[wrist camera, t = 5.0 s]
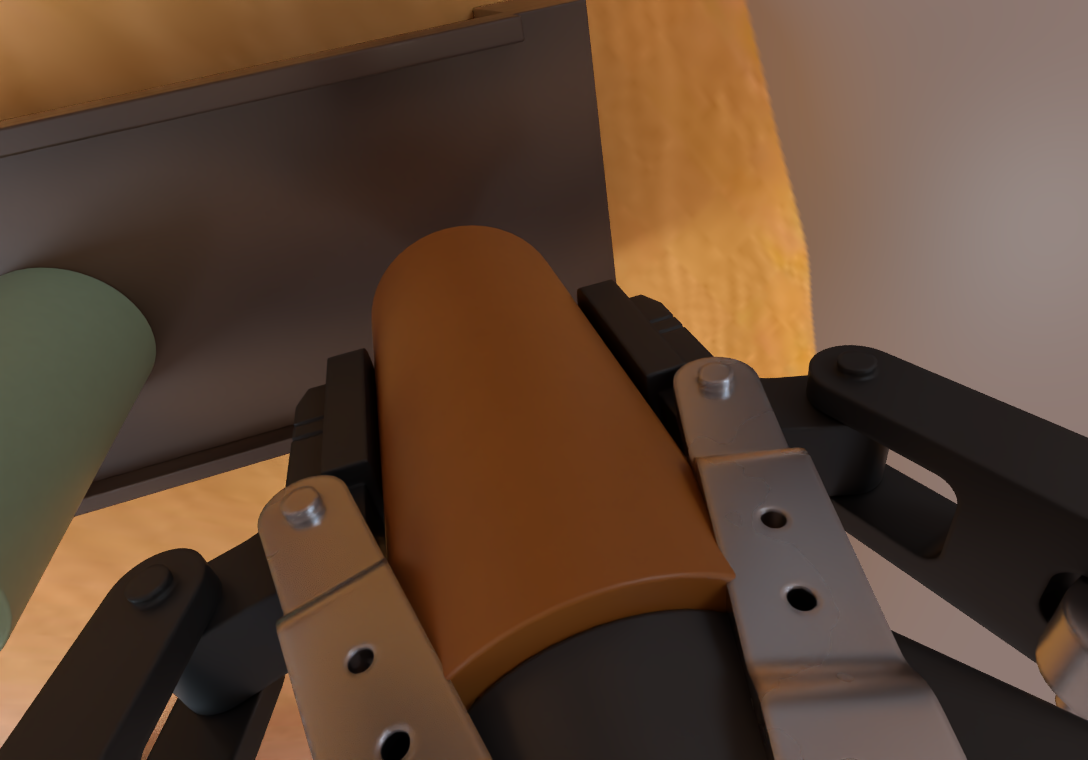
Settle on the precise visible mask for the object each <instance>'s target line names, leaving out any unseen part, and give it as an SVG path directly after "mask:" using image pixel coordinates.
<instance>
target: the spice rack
mask: <svg viewBox="0 0 1088 760" xmlns="http://www.w3.org/2000/svg"><path fill="white" fill-rule="evenodd" d="M473 13H474V18H475V19H470V20H466V21H461V22H456V23H452V24H447V25H443V26H438V27H433V28H429V29H424V30H419V31H415V32H410V33H405V34H401V35H396V36H392V37H387V38H382V39H378V40H373V41H368V42H364V43H359V44H355V45H350V46H345V47H341V48H336V49H331V50H327V51H322V52H317V53H313V54H308V55H304V56H299V57H294V58H290V59H285V60H280V61H276V62H271V63H267V64H262V65H257V66H253V67H248V68H243V69H239V70H234V71H229V72H225V73H220V74H216V75H211V76H206V77H202V78H197V79H192V80H188V81H183V82H179V83H174V84H169V85H165V86H160V87H155V88H151V89H146V90H142V91H137V92H132V93H128V94H123V95H118V96H114V97H109V98H104V99H100V100H95V101H91V102H86V103H81V104H77V105H72V106H67V107H63V108H58V109H54V110H49V111H44V112H40V113H35V114H30V115H26V116H21V117H16V118H12V119H7V120H3V121H0V276H2V275H4V274H6V273H10V272H13V271H16V270H22V269H27V268H57V269H64V270H69V271H73V272H78V273H81V274H84V275H87V276H90V277H93V278H95V279H97V280H99V281H102V282H104V283H106V284H107V285H109V286H111V287H113V288H114V289H116V290H117V291H119V292H120V293H122V294H123V295H124V296H125V297H127V298H128V299H129V300H130V301H131V302H132V303H133V304H134V305H135V306H136V307H137V308H138V309H139V310H140V311H141V313H142V314H143V316H144V317H145V318H146V320H147V322H148V324H149V325H150V327H151V330H152V332H153V335H154V339H155V344H156V358H155V363H154V366H153V369H152V371H151V373H150V375H149V376H148V378H147V380H146V382H145V384H144V386H143V388H142V390H141V391H140V393H139V395H138V397H137V399H136V401H135V403H134V405H133V406H132V408H131V410H130V412H129V414H128V416H127V418H126V420H125V421H124V423H123V425H122V427H121V429H120V431H119V433H118V435H117V436H116V438H115V440H114V442H113V444H112V446H111V448H110V450H109V451H108V453H107V455H106V457H105V459H104V461H103V463H102V465H101V466H100V468H99V470H98V472H97V474H96V476H95V478H94V480H93V481H92V483H91V485H90V487H89V489H88V491H87V493H86V495H85V496H84V498H83V500H82V502H81V504H80V506H79V508H78V509H77V511H76V513H75V515H74V517H75V516H78V515H82V514H85V513H88V512H92V511H95V510H99V509H102V508H105V507H109V506H112V505H116V504H119V503H122V502H126V501H129V500H133V499H136V498H139V497H143V496H146V495H150V494H153V493H156V492H160V491H163V490H166V489H170V488H173V487H177V486H180V485H183V484H187V483H190V482H194V481H197V480H200V479H204V478H207V477H211V476H214V475H217V474H221V473H224V472H228V471H231V470H234V469H238V468H241V467H245V466H248V465H251V464H255V463H258V462H261V461H265V460H268V459H272V458H275V457H278V456H282V455H285V454H289V453H290V449H291V442H293V440H292V433H293V428H294V417H295V410H296V406H297V405H298V403H299V402H300V400H301V399H302V397H303V396H304V395H305V393H306V392H307V390H308V389H310V388H313V387H317V386H321V385H324V384H326V372H327V359H328V358H330V357H333V356H337V355H340V354H344V353H347V352H351V351H355V350H358V349H362V348H365V349H366V350H367V352H368V354H369V356H370V358H371V361H372V363H373V366H374V352H373V337H372V305H373V299H374V295H375V292H376V289H377V286H378V284H379V282H380V280H381V278H382V276H383V274H384V273H385V271H386V270H387V268H388V267H389V265H390V264H391V263H392V262H393V261H394V260H395V258H396V257H397V256H398V255H399V254H400V253H402V252H403V251H404V250H405V249H406V248H407V247H409V246H410V245H412V244H413V243H415V242H416V241H418V240H419V239H421V238H423V237H425V236H427V235H429V234H431V233H434V232H437V231H440V230H443V229H447V228H452V227H457V226H470V225H475V226H487V227H492V228H497V229H500V230H503V231H506V232H509V233H512V234H514V235H515V236H517V237H519V238H521V239H523V240H524V241H526V242H527V243H529V244H530V245H532V246H533V247H534V248H535V249H536V250H537V251H538V252H539V253H540V254H541V255H542V256H543V258H544V259H545V260H546V261H547V263H548V264H549V266H550V267H551V268H552V270H553V271H554V273H555V274H556V275H557V277H558V278H559V280H560V281H561V282H562V284H563V285H564V287H565V288H566V289H567V291H568V292H569V294H570V295H571V296H572V298H573V299H574V301H575V302H576V303H577V289H578V288H581V287H585V286H588V285H592V284H596V283H599V282H603V281H606V280H610V279H612V280H613V281H614V282H615V283H616V276H615V267H614V258H613V248H612V239H611V230H610V220H609V211H608V202H607V193H606V183H605V174H604V165H603V156H602V146H601V137H600V128H599V118H598V109H597V100H596V91H595V81H594V72H593V63H592V54H591V44H590V35H589V26H588V16H587V7H586V0H508V1H504V2H499V3H494V4H490V5H485V6H480V7H476V8H473ZM577 305H578V303H577Z"/></svg>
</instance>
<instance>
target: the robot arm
mask: <svg viewBox="0 0 1088 760" xmlns="http://www.w3.org/2000/svg"><path fill="white" fill-rule="evenodd" d="M577 303H578V306H579V308H580V309H581V310H582V312H583V313H584V315H585V316H586V317H587V319H588V320H589V322H590V323H591V325H592V326H593V327H594V329H595V330H596V332H597V333H598V334H599V336H600V337H601V339H602V340H603V341H604V343H605V344H606V346H607V347H608V348H609V350H610V351H611V353H612V354H613V355H614V357H615V358H616V360H617V361H618V362H619V364H620V365H621V367H622V368H623V369H624V371H625V372H626V374H627V375H628V376H629V378H630V379H631V381H632V382H633V383H634V385H635V386H636V388H637V389H638V390H639V392H640V393H641V395H642V396H643V398H644V399H645V400H646V402H647V403H648V405H649V406H650V407H651V409H652V410H653V412H654V413H655V414H656V416H657V417H658V419H659V420H660V421H661V423H662V424H663V426H664V427H665V428H666V430H667V431H668V433H669V434H670V435H671V437H672V438H673V440H674V441H675V442H676V444H677V445H678V447H679V448H680V449H681V451H682V452H683V454H684V455H685V456H686V458H687V460H688V462H689V464H690V465H691V468H692V470H693V473H694V475H695V478H696V481H697V483H698V486H699V489H700V492H701V495H702V498H703V501H704V504H705V507H706V510H707V513H708V516H709V519H710V523H711V526H712V529H713V533H714V536H715V539H716V542H717V546H718V548H719V549H720V551H721V553H722V554H723V556H724V557H725V559H726V560H727V562H728V563H729V565H730V566H731V568H732V569H733V571H734V572H735V574H736V576H735V579H733V580H732V581H730V582H727V584H726V614H727V615H728V618H729V622H730V625H731V629H732V633H733V636H734V640H735V643H736V647H737V650H738V654H739V657H740V661H741V665H742V668H743V672H744V676H745V680H746V683H747V687H748V691H749V694H750V698H751V702H752V706H753V709H754V713H755V717H756V720H757V724H758V728H759V731H760V735H761V739H762V743H763V747H764V751H765V754H766V758H767V760H1088V438H1087V437H1085V436H1082V435H1080V434H1078V433H1075V432H1073V431H1070V430H1068V429H1066V428H1064V427H1061V426H1059V425H1056V424H1054V423H1052V422H1049V421H1047V420H1045V419H1042V418H1040V417H1037V416H1035V415H1033V414H1030V413H1028V412H1025V411H1023V410H1021V409H1018V408H1016V407H1014V406H1011V405H1009V404H1007V403H1004V402H1001V401H999V400H997V399H995V398H992V397H990V396H987V395H985V394H983V393H980V392H978V391H976V390H973V389H971V388H969V387H966V386H964V385H961V384H959V383H957V382H954V381H952V380H949V379H947V378H944V377H942V376H940V375H938V374H935V373H932V372H930V371H928V370H926V369H923V368H921V367H919V366H916V365H914V364H911V363H909V362H907V361H904V360H902V359H900V358H897V357H895V356H892V355H890V354H888V353H885V352H883V351H880V350H877V349H874V348H870V347H865V346H856V345H844V346H836V347H831V348H828V349H825V350H823V351H821V352H819V353H817V354H816V355H814V357H813V358H812V359H811V361H810V363H809V371H808V375H807V376H794V377H782V378H759V377H758V375H757V373H756V372H755V371H754V369H753V368H751V367H750V366H749V365H747V364H745V363H743V362H741V361H738V360H735V359H731V358H725V357H713V356H712V354H711V353H710V352H709V351H708V350H707V349H706V348H705V347H704V346H703V345H702V344H701V343H700V342H699V341H698V340H697V339H696V338H695V337H694V336H693V335H692V334H691V333H690V332H689V331H688V330H687V329H686V328H685V327H683V326H682V324H681V323H680V322H679V321H678V320H677V319H676V318H675V317H673V315H672V314H671V312H670V311H669V310H668V309H667V308H666V307H665V306H664V305H663V304H662V303H661V302H658V301H656V300H653V299H651V298H648V297H646V296H643V295H638V296H635V297H631V298H629V297H628V296H627V295H626V294H625V293H624V292H623V291H622V290H621V288H620V287H619V286H618V285H617V284H616V283H615V282H614V281H613V280H612V279H610V280H606V281H603V282H599V283H596V284H592V285H588V286H585V287H581V288H578V289H577ZM292 440H293V442H291V449H290V457H289V464H288V472H287V480H286V487H285V488H284V489H282V490H281V491H280V492H278V493H277V494H276V495H275V496H274V497H273V498H272V499H271V500H270V501H269V502H268V503H267V504H266V506H265V507H264V508H263V510H262V512H261V514H260V516H259V519H258V533H257V534H255V535H254V536H253V537H251V538H250V539H248V540H247V541H245V542H243V543H242V544H240V545H238V546H236V547H234V548H233V549H231V550H229V551H227V552H225V553H224V554H222V555H220V556H218V557H216V558H215V559H213V560H211V561H209V562H206V561H205V559H204V558H203V557H202V556H201V554H199V553H198V552H197V551H195V550H192V549H187V548H178V549H172V550H168V551H165V552H162V553H159V554H157V555H154V556H152V557H150V558H148V559H146V560H145V561H143V562H141V563H140V564H138V565H137V566H135V567H134V568H133V569H131V570H130V571H129V572H127V573H126V574H125V575H124V576H123V577H122V578H121V579H120V580H119V581H118V582H117V583H116V584H115V585H114V586H113V587H112V589H111V590H110V591H109V593H108V594H107V595H106V597H105V598H104V600H103V601H102V603H101V604H100V606H99V607H98V608H97V610H96V611H95V613H94V614H93V616H92V617H91V619H90V620H89V621H88V623H87V624H86V626H85V627H84V629H83V630H82V632H81V633H80V634H79V636H78V637H77V639H76V640H75V642H74V643H73V645H72V646H71V648H70V649H69V650H68V652H67V653H66V655H65V656H64V658H63V659H62V661H61V662H60V663H59V665H58V666H57V668H56V669H55V671H54V672H53V674H52V675H51V676H50V678H49V679H48V681H47V682H46V684H45V685H44V687H43V688H42V689H41V691H40V692H39V694H38V695H37V697H36V698H35V700H34V701H33V702H32V704H31V705H30V707H29V708H28V710H27V711H26V713H25V714H24V715H23V717H22V718H21V720H20V721H19V723H18V724H17V726H16V727H15V728H14V730H13V731H12V733H11V734H10V736H9V737H8V739H7V740H6V741H5V743H4V744H3V746H2V747H1V749H0V760H141V756H142V753H143V750H144V748H145V746H146V744H147V742H148V740H149V738H150V736H151V734H152V732H153V730H154V728H155V726H156V724H157V722H158V720H159V719H160V717H161V715H162V713H163V711H164V709H165V707H166V705H167V703H168V701H169V699H170V697H171V695H172V693H174V694H175V695H176V696H177V697H178V698H177V700H176V702H175V704H174V706H173V708H172V710H171V712H170V714H169V716H168V718H167V720H166V722H165V724H164V726H163V728H162V730H161V732H160V734H159V736H158V738H157V740H156V742H155V744H154V746H153V748H152V750H151V752H150V754H149V756H148V758H147V760H255V758H256V756H257V753H258V750H259V748H260V745H261V742H262V740H263V737H264V734H265V731H266V729H267V726H268V723H269V721H270V718H271V715H272V713H273V710H274V707H275V705H276V702H277V699H278V696H279V694H280V691H281V688H282V686H283V682H284V678H285V674H287V673H288V674H289V677H290V681H291V684H292V688H293V691H294V695H295V698H296V702H297V705H298V709H299V712H300V716H301V719H302V723H303V726H304V730H305V734H306V737H307V741H308V744H309V748H310V751H311V755H312V758H313V760H493V759H492V757H491V755H490V753H489V752H488V750H487V748H486V746H485V744H484V742H483V740H482V738H481V736H480V735H479V733H478V731H477V729H476V727H475V725H474V723H473V721H472V720H471V718H470V716H469V714H468V712H467V710H466V708H465V706H464V704H463V703H462V701H461V699H460V697H459V695H458V693H457V691H456V689H455V688H454V686H453V684H452V682H451V680H447V679H446V678H445V677H444V673H443V666H442V663H441V661H440V659H439V657H438V656H437V654H436V652H435V650H434V648H433V646H432V644H431V642H430V641H429V639H428V637H427V635H426V633H425V631H424V629H423V627H422V625H421V624H420V622H419V620H418V618H417V616H416V614H415V612H414V610H413V609H412V607H411V605H410V603H409V601H408V599H407V597H406V595H405V594H404V592H403V590H402V588H401V586H400V584H399V582H398V580H397V578H396V577H395V575H394V573H393V571H392V569H391V567H390V565H389V563H388V562H387V552H386V537H385V521H384V506H383V491H382V475H381V460H380V444H379V429H378V414H377V398H376V383H375V368H374V366H373V363H372V361H371V358H370V356H369V354H368V352H367V350H366V349H365V348H362V349H358V350H355V351H351V352H347V353H344V354H340V355H337V356H333V357H330V358H328V359H327V372H326V384H324V385H321V386H317V387H313V388H310V389H308V390H307V392H306V393H305V395H304V396H303V397H302V399H301V400H300V402H299V403H298V405H297V406H296V410H295V417H294V428H293V433H292ZM889 449H891V450H892V451H894V452H896V453H898V454H900V455H902V456H903V457H905V458H907V459H909V460H911V461H913V462H915V463H916V464H918V465H920V466H922V467H924V468H925V469H927V470H929V471H931V472H933V473H935V474H936V475H938V476H940V477H941V478H942V479H944V480H945V481H946V482H947V483H948V484H949V485H950V486H951V488H952V489H953V491H954V492H955V494H956V497H957V504H956V503H954V502H952V501H951V500H949V499H947V498H945V497H943V496H942V495H940V494H938V493H936V492H935V491H933V490H931V489H929V488H928V487H926V486H924V485H922V484H920V483H918V482H917V481H915V480H913V479H911V478H910V477H908V476H906V475H905V474H903V473H901V472H899V471H898V470H896V469H894V468H892V467H890V466H889V465H887V464H886V460H887V455H888V451H889ZM845 531H846V532H847V533H849V534H850V535H852V536H853V537H855V538H856V539H858V540H859V541H860V542H862V543H863V544H865V545H866V546H868V547H869V548H871V549H872V550H873V551H875V552H876V553H878V554H879V555H881V556H882V557H884V558H885V559H886V560H888V561H889V562H891V563H892V564H894V565H895V566H897V567H898V568H899V569H901V570H902V571H904V572H905V573H907V574H908V575H910V576H911V577H912V578H914V579H915V580H917V581H918V582H920V583H921V584H923V585H924V586H926V587H927V588H928V589H930V590H931V591H933V592H934V593H936V594H937V595H938V596H940V597H941V598H943V599H944V600H946V601H947V602H949V603H950V604H951V605H953V606H955V607H956V608H957V609H959V610H960V611H962V612H963V613H965V614H966V615H967V616H969V617H970V618H972V619H973V620H975V621H976V622H978V623H979V624H980V625H982V626H983V627H985V628H986V629H988V630H989V631H991V632H992V633H993V634H995V635H996V636H998V637H999V638H1001V639H1002V640H1004V641H1005V642H1007V643H1008V644H1009V645H1011V646H1012V647H1014V648H1015V649H1017V650H1018V651H1019V652H1021V653H1022V654H1024V655H1025V656H1027V657H1028V658H1030V659H1031V660H1032V661H1034V662H1036V663H1037V665H1038V667H1039V670H1040V673H1041V675H1042V676H1043V678H1044V680H1045V682H1046V683H1047V684H1048V686H1049V687H1050V688H1051V689H1052V691H1053V692H1054V693H1055V694H1056V696H1055V702H1056V706H1055V705H1053V704H1051V703H1049V702H1047V701H1044V700H1042V699H1040V698H1038V697H1036V696H1033V695H1031V694H1029V693H1027V692H1025V691H1023V690H1020V689H1018V688H1016V687H1014V686H1012V685H1009V684H1007V683H1005V682H1003V681H1001V680H999V679H996V678H994V677H992V676H990V675H988V674H986V673H983V672H981V671H979V670H976V669H974V668H972V667H970V666H968V665H966V664H964V663H962V662H959V661H957V660H955V659H953V658H950V657H948V656H946V655H944V654H942V653H940V652H938V651H935V650H933V649H931V648H929V647H927V646H924V645H922V644H920V643H918V642H916V641H914V640H911V639H909V638H907V637H905V636H903V635H900V634H898V633H896V632H894V631H892V630H890V627H889V625H888V623H887V621H886V619H885V617H884V615H883V612H882V610H881V608H880V606H879V604H878V601H877V599H876V598H875V595H874V593H873V591H872V588H871V586H870V584H869V582H868V580H867V578H866V575H865V573H864V571H863V569H862V567H861V565H860V563H859V560H858V558H857V556H856V554H855V552H854V550H853V547H852V545H851V543H850V541H849V539H848V537H847V534H846V532H845Z"/></svg>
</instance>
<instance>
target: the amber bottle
mask: <svg viewBox="0 0 1088 760" xmlns="http://www.w3.org/2000/svg"><path fill="white" fill-rule="evenodd" d="M372 337H373V352H374V368H375V383H376V398H377V414H378V429H379V444H380V460H381V475H382V491H383V506H384V521H385V537H386V552H387V562H388V563H389V565H390V567H391V569H392V571H393V573H394V575H395V577H396V578H397V580H398V582H399V584H400V586H401V588H402V590H403V592H404V594H405V595H406V597H407V599H408V601H409V603H410V605H411V607H412V609H413V610H414V612H415V614H416V616H417V618H418V620H419V622H420V624H421V625H422V627H423V629H424V631H425V633H426V635H427V637H428V639H429V641H430V642H431V644H432V646H433V648H434V650H435V652H436V654H437V656H438V657H439V659H440V661H441V663H442V666H443V673H444V677H445V678H446V679H447V680H451V682H452V684H453V686H454V688H455V689H456V691H457V693H458V695H459V697H460V699H461V701H462V703H463V704H464V706H465V708H466V710H467V712H468V714H469V716H470V718H471V720H472V721H473V723H474V725H475V727H476V729H477V731H478V733H479V735H480V736H481V738H482V740H483V742H484V744H485V746H486V748H487V750H488V752H489V753H490V755H491V757H492V759H493V760H767V758H766V754H765V751H764V747H763V743H762V739H761V735H760V731H759V728H758V724H757V720H756V717H755V713H754V709H753V706H752V702H751V698H750V694H749V691H748V687H747V683H746V680H745V676H744V672H743V668H742V665H741V661H740V657H739V654H738V650H737V647H736V643H735V640H734V636H733V633H732V629H731V625H730V622H729V618H728V615H727V614H726V584H727V582H730V581H732V580H733V579H735V576H736V574H735V572H734V571H733V569H732V568H731V566H730V565H729V563H728V562H727V560H726V559H725V557H724V556H723V554H722V553H721V551H720V549H719V548H718V546H717V542H716V539H715V536H714V533H713V529H712V526H711V523H710V519H709V516H708V513H707V510H706V507H705V504H704V501H703V498H702V495H701V492H700V489H699V486H698V483H697V481H696V478H695V475H694V473H693V470H692V468H691V465H690V464H689V462H688V460H687V458H686V456H685V455H684V454H683V452H682V451H681V449H680V448H679V447H678V445H677V444H676V442H675V441H674V440H673V438H672V437H671V435H670V434H669V433H668V431H667V430H666V428H665V427H664V426H663V424H662V423H661V421H660V420H659V419H658V417H657V416H656V414H655V413H654V412H653V410H652V409H651V407H650V406H649V405H648V403H647V402H646V400H645V399H644V398H643V396H642V395H641V393H640V392H639V390H638V389H637V388H636V386H635V385H634V383H633V382H632V381H631V379H630V378H629V376H628V375H627V374H626V372H625V371H624V369H623V368H622V367H621V365H620V364H619V362H618V361H617V360H616V358H615V357H614V355H613V354H612V353H611V351H610V350H609V348H608V347H607V346H606V344H605V343H604V341H603V340H602V339H601V337H600V336H599V334H598V333H597V332H596V330H595V329H594V327H593V326H592V325H591V323H590V322H589V320H588V319H587V317H586V316H585V315H584V313H583V312H582V310H581V309H580V308H579V306H578V305H577V303H576V302H575V301H574V299H573V298H572V296H571V295H570V294H569V292H568V291H567V289H566V288H565V287H564V285H563V284H562V282H561V281H560V280H559V278H558V277H557V275H556V274H555V273H554V271H553V270H552V268H551V267H550V266H549V264H548V263H547V261H546V260H545V259H544V258H543V256H542V255H541V254H540V253H539V252H538V251H537V250H536V249H535V248H534V247H533V246H532V245H530V244H529V243H527V242H526V241H524V240H523V239H521V238H519V237H517V236H515V235H514V234H512V233H509V232H506V231H503V230H500V229H497V228H492V227H487V226H475V225H470V226H457V227H452V228H447V229H443V230H440V231H437V232H434V233H431V234H429V235H427V236H425V237H423V238H421V239H419V240H418V241H416V242H415V243H413V244H412V245H410V246H409V247H407V248H406V249H405V250H404V251H403V252H402V253H400V254H399V255H398V256H397V257H396V258H395V260H394V261H393V262H392V263H391V264H390V265H389V267H388V268H387V270H386V271H385V273H384V274H383V276H382V278H381V280H380V282H379V284H378V286H377V289H376V292H375V295H374V299H373V305H372Z"/></svg>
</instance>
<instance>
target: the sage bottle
mask: <svg viewBox="0 0 1088 760" xmlns="http://www.w3.org/2000/svg"><path fill="white" fill-rule="evenodd" d="M155 358H156V344H155V339H154V335H153V332H152V330H151V327H150V325H149V324H148V322H147V320H146V318H145V317H144V316H143V314H142V313H141V311H140V310H139V309H138V308H137V307H136V306H135V305H134V304H133V303H132V302H131V301H130V300H129V299H128V298H127V297H125V296H124V295H123V294H122V293H120V292H119V291H117V290H116V289H114V288H113V287H111V286H109V285H107V284H106V283H104V282H102V281H99V280H97V279H95V278H93V277H90V276H87V275H84V274H81V273H78V272H73V271H69V270H64V269H57V268H27V269H22V270H16V271H13V272H10V273H6V274H4V275H2V276H0V651H1V650H2V649H3V647H4V646H5V644H6V642H7V640H8V639H9V637H10V635H11V633H12V631H13V629H14V628H15V626H16V624H17V622H18V620H19V618H20V616H21V614H22V613H23V611H24V609H25V607H26V605H27V603H28V601H29V599H30V598H31V596H32V594H33V592H34V590H35V588H36V586H37V584H38V583H39V581H40V579H41V577H42V575H43V573H44V571H45V569H46V568H47V566H48V564H49V562H50V560H51V558H52V556H53V554H54V553H55V551H56V549H57V547H58V545H59V543H60V541H61V539H62V538H63V536H64V534H65V532H66V530H67V528H68V526H69V524H70V523H71V521H72V519H73V517H74V515H75V513H76V511H77V509H78V508H79V506H80V504H81V502H82V500H83V498H84V496H85V495H86V493H87V491H88V489H89V487H90V485H91V483H92V481H93V480H94V478H95V476H96V474H97V472H98V470H99V468H100V466H101V465H102V463H103V461H104V459H105V457H106V455H107V453H108V451H109V450H110V448H111V446H112V444H113V442H114V440H115V438H116V436H117V435H118V433H119V431H120V429H121V427H122V425H123V423H124V421H125V420H126V418H127V416H128V414H129V412H130V410H131V408H132V406H133V405H134V403H135V401H136V399H137V397H138V395H139V393H140V391H141V390H142V388H143V386H144V384H145V382H146V380H147V378H148V376H149V375H150V373H151V371H152V369H153V366H154V363H155Z"/></svg>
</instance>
